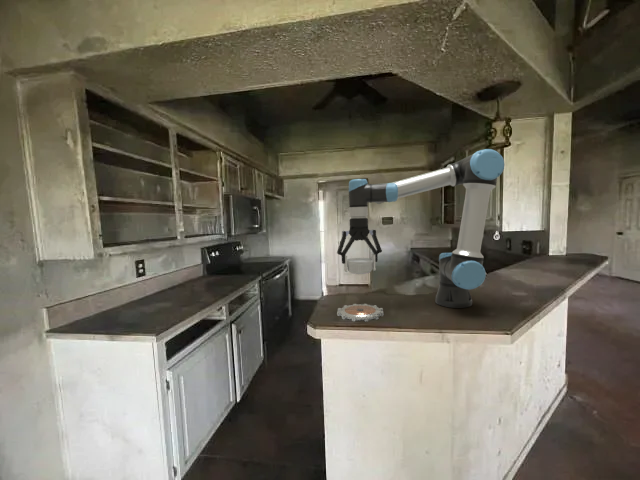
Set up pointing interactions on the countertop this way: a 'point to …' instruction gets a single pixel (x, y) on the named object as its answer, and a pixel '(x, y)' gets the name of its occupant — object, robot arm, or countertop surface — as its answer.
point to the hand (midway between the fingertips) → (359, 270)
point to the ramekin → (359, 265)
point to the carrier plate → (360, 312)
